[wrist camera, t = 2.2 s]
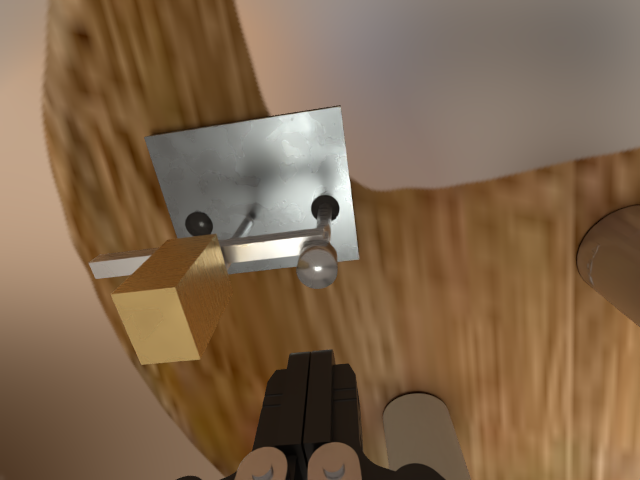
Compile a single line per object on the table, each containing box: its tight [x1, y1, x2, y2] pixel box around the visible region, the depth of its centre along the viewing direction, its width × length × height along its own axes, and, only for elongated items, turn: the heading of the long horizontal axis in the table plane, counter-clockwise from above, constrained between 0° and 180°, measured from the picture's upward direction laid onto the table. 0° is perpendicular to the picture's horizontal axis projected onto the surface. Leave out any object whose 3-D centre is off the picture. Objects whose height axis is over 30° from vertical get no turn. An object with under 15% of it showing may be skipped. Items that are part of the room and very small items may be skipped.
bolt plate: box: [89, 105, 359, 289], centre depth 29 cm, size 18×14×14 cm
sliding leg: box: [111, 217, 254, 365], centre depth 25 cm, size 3×4×18 cm
